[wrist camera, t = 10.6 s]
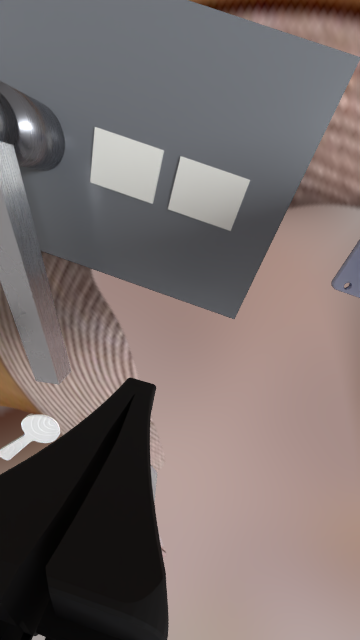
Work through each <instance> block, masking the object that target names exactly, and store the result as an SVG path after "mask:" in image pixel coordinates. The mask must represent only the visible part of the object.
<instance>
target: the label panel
mask: <svg viewBox="0 0 360 640" xmlns="http://www.w3.org/2000/svg"><path fill="white" fill-rule="evenodd" d="M359 60H360V57H358V56H355V55H352V54H349V53H346V52H343V51H340V50H337V49H334V48H331V47H328V46H325V45H322V44H319V43H316V42H313V41H310V40H307V39H303V38H300V37H297V36H294V35H291V34H288V33H285V32H282V31H279V30H276V29H273V28H270V27H267V26H264V25H261V24H258V23H255V22H252V21H249V20H246V19H243V18H240V17H237V16H234V15H231V14H228V13H225V12H222V11H219V10H216V9H213V8H210V7H207V6H204V5H201V4H198V3H194V2H191V1H188V0H0V81H2V82H3V83H5V84H7V85H9V86H11V87H13V88H15V89H17V90H19V91H20V92H22V93H24V94H26V95H28V96H30V97H32V98H34V99H36V100H37V101H39V102H41V103H43V104H45V105H46V106H47V107H49V108H50V109H51V110H52V112H53V113H54V114H55V115H56V117H57V119H58V120H59V122H60V125H61V127H62V130H63V134H64V139H65V151H64V155H63V158H62V160H61V162H60V163H59V165H58V166H57V167H55V168H54V169H52V170H39V169H33V168H27V167H20V166H19V169H20V173H21V177H22V181H23V184H24V188H25V192H26V196H27V200H28V204H29V208H30V212H31V216H32V220H33V224H34V227H35V231H36V235H37V239H38V243H39V247H40V251H43V252H46V253H49V254H52V255H54V256H57V257H60V258H63V259H66V260H68V261H71V262H74V263H77V264H80V265H83V266H85V267H88V268H91V269H94V270H97V271H100V272H103V273H105V274H108V275H111V276H114V277H117V278H119V279H122V280H125V281H128V282H131V283H134V284H136V285H139V286H142V287H145V288H148V289H150V290H153V291H156V292H159V293H162V294H165V295H167V296H170V297H173V298H176V299H179V300H182V301H185V302H187V303H190V304H193V305H195V306H198V307H201V308H204V309H207V310H210V311H213V312H216V313H218V314H221V315H224V316H227V317H229V318H232V319H235V317H236V315H237V313H238V311H239V308H240V306H241V304H242V302H243V300H244V298H245V296H246V294H247V292H248V290H249V288H250V286H251V284H252V282H253V279H254V277H255V275H256V273H257V271H258V269H259V267H260V265H261V263H262V261H263V259H264V257H265V255H266V252H267V251H268V248H269V246H270V244H271V242H272V240H273V238H274V236H275V234H276V232H277V230H278V228H279V226H280V223H281V221H282V220H283V217H284V215H285V213H286V211H287V209H288V207H289V205H290V203H291V201H292V199H293V197H294V195H295V193H296V191H297V188H298V186H299V184H300V182H301V180H302V178H303V176H304V174H305V172H306V170H307V168H308V166H309V164H310V162H311V159H312V157H313V155H314V153H315V151H316V149H317V147H318V145H319V143H320V141H321V139H322V137H323V135H324V133H325V131H326V128H327V126H328V124H329V122H330V120H331V118H332V116H333V114H334V112H335V110H336V108H337V106H338V104H339V102H340V99H341V97H342V95H343V93H344V91H345V89H346V87H347V85H348V83H349V81H350V79H351V77H352V75H353V73H354V71H355V68H356V66H357V64H358V62H359Z"/></svg>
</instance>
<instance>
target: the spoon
mask: <svg viewBox="0 0 360 640" xmlns="http://www.w3.org/2000/svg"><path fill="white" fill-rule="evenodd" d="M21 425H22V429H23V431H24V432H25V434H24V435H22V436H20V437H19V438H17V439H16V440H14V441H12V442H11V443H9V444H7V445H6V446H4V447H3V448H1V449H0V457H2V458H3V459H5V460H10V459H11V458H12V457H13V456H14V455H16V454H17V453H18V452H19V451H20V450H21V449H23V448H24V447H25V446H26V445H27V444H28V443H30V442H31V441H33V440H34V441H37V442H42V443H50V442H52V441H55V440H56V439H57V438H58V436H59V435H60V428H59V425H58V423H57V422H56V420H54V419H53V418H51V417H49V416H47V415H42V414H29V415H27V416H26V417H25V418H24V419H23V421H22V423H21Z"/></svg>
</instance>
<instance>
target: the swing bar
mask: <svg viewBox="0 0 360 640" xmlns="http://www.w3.org/2000/svg"><path fill="white" fill-rule="evenodd" d="M18 135H19V130H18V123H17V119H16V116H15V113H14V111H13V109H12V107H11V105H10V103H9V102H8V100H7V99H6V98H5V97H4V96H3V95H2V94H1V93H0V281H1V284H2V287H3V290H4V293H5V296H6V298H7V301H8V304H9V307H10V310H11V312H12V315H13V318H14V321H15V324H16V326H17V329H18V332H19V335H20V338H21V340H22V343H23V346H24V349H25V352H26V355H27V357H28V360H29V363H30V366H31V369H32V371H33V374H34V377H35V380H36V381H40V382H46V383H53V384H60V383H61V382H62V381H63V380H64V378H65V377H66V376H67V375H68V374H69V373H70V372H71V368H70V364H69V360H68V356H67V353H66V349H65V345H64V341H63V337H62V333H61V329H60V325H59V321H58V317H57V313H56V310H55V306H54V302H53V298H52V294H51V290H50V286H49V282H48V278H47V274H46V270H45V267H44V263H43V259H42V255H41V251H40V247H39V243H38V239H37V235H36V231H35V227H34V224H33V220H32V216H31V212H30V208H29V204H28V200H27V196H26V192H25V188H24V184H23V181H22V177H21V173H20V169H19V165H18V161H17V157H16V153H15V149H14V148H15V147H16V144H17V142H18Z"/></svg>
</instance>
